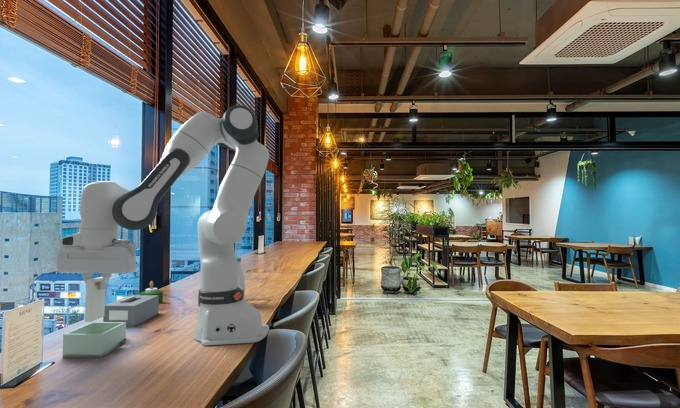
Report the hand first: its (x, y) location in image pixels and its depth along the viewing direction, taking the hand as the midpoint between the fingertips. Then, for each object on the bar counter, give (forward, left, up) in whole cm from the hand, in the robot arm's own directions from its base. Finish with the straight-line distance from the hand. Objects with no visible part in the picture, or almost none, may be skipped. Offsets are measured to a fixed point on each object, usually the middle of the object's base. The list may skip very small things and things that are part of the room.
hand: (96, 289), depth 93 cm
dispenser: (+4, -22, -17) cm, 28 cm away
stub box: (0, 0, -17) cm, 17 cm away
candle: (+11, -45, -17) cm, 49 cm away
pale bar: (0, 0, -8) cm, 8 cm away
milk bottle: (-24, -43, -17) cm, 52 cm away
